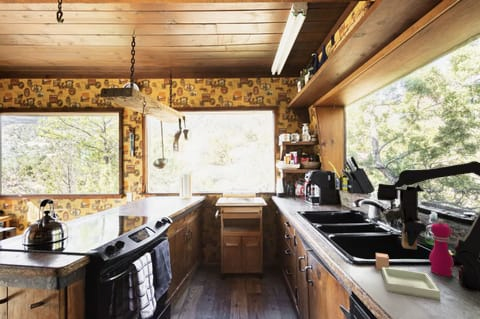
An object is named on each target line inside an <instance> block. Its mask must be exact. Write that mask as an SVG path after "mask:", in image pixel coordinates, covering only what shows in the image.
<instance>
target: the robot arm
mask: <svg viewBox="0 0 480 319" xmlns="http://www.w3.org/2000/svg"><path fill="white" fill-rule="evenodd" d="M467 174H474V175H476V176H478V177H480V162H479V161H477V160H476V161H475V160H472V161H469V162H468V161H467V162H463V163H458V164H457V163H456V164H453V165H446V166H438V167H433V168H424V169H423V168H418V169H416V168H414V169H413V168H412V169H404V170H402V171H401V172H400V173H399V175H398V180H396V181H395V182H394V184H391V183H378V186H377V192H376V195H377V200H378V201H384V202H396V201H395V200H398V199H399V204H398V205H397V207H396V208H391V209H388V210H384V211H382V214H383V216H384V219H385V220H386V222H392V221H394V220H395V221H397V224H398V225H399V226H400V228H401V229H402V232H406V234H407V239H408V244H409V246H413V245H414V243H415V241H416V239H417V240H418V237H419V236H420V235H421V233H422V232H423V233H425V232H427V225H425V224H424V223H423V222H422V221H421V220H420V219H421V218H420V217H419V211H420V210H421V208H420V207H421V206H419V192H421V193H423V192H425V189H424V188H422V186H421V185H420V184H418V183H423V182H425V181H429V180H432V179H440V178H446V177H455V176H461V175H467ZM416 184H417V185H416ZM412 185H416V186H412ZM404 186H406V188H402V187H404ZM452 245H453V246H452V247H453V252H454V257H455V259H456V260H457V261H458V262H459V263H460V264H462V265H460V266H459V267H460V268H459V270H458V283H459V284H460V285H461V286H463V288H465V290H467V291H474V292H480V211H479V212H478V214H477V215H476V217H475V219H474V221H473V222H472V225H471V226H470V228H469V230H468V232H467V234H465V236H463V237H462V236H460V235H458V236H457V238H456V241H455V243H453V244H452Z"/></svg>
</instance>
